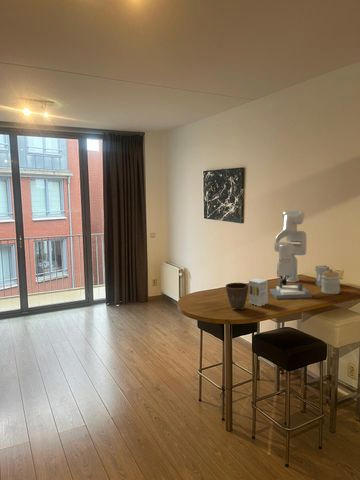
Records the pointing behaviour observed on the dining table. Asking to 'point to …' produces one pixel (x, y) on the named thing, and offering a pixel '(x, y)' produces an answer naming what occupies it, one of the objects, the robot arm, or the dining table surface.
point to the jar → (330, 282)
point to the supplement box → (258, 292)
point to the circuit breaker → (320, 274)
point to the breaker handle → (299, 286)
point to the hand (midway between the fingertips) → (284, 284)
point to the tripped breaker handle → (280, 283)
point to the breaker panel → (279, 296)
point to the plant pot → (237, 294)
